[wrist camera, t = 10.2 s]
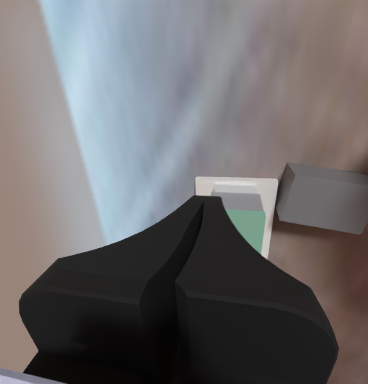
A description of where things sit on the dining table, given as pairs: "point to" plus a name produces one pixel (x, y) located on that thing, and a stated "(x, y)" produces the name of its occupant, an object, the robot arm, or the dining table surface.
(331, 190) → the relay
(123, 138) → the dining table surface
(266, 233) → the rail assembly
